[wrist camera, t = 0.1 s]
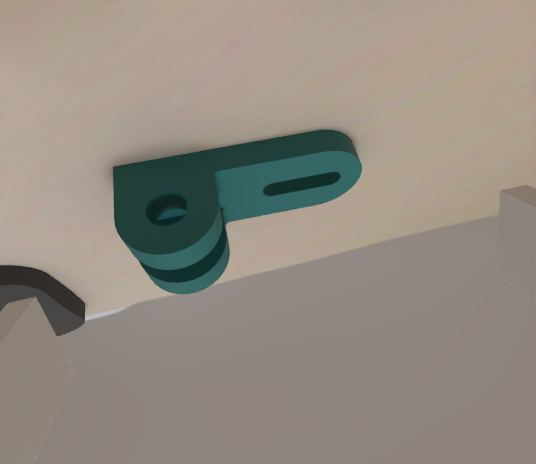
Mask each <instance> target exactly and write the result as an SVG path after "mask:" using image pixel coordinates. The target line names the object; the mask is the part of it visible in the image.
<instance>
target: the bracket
mask: <svg viewBox="0 0 536 464" xmlns="http://www.w3.org/2000/svg"><path fill="white" fill-rule="evenodd" d="M361 172H362V165H361V162H360V160H359V157H358V155H357V153H356V150H355V148H354V146H353V143H352V141H351V140H350V138H349V137H348V136H346V135H345V134H343V133H341V132H338V131H334V130H318V131H312V132H307V133H301V134H295V135H290V136H284V137H278V138H273V139H267V140H262V141H256V142H250V143H245V144H239V145H234V146H228V147H222V148H217V149H211V150H205V151H200V152H194V153H189V154H183V155H177V156H172V157H166V158H160V159H155V160H149V161H144V162H138V163H132V164H127V165H121V166H115V167H113V181H114V221H115V227H116V230H117V232H118V234H119V236H120V237H121V239H122V240H123V241H124V243H125V244H126V245H127V247H128V248H129V249H130V251H131V252H132V253H133V255H134V256H135V257H136V258H137V259H138V260H139V262H140V264H141V266H142V267H143V268H144V270H145V271H146V273H147V274H148V275H149V277H150V278H151V279H152V281H153V282H154V283H155V284H156V285H157V286H159V287H160V288H162V289H163V290H165V291H168V292H171V293H175V294H190V293H195V292H198V291H201V290H203V289H205V288H207V287H209V286H210V285H212V284H213V283H214V282H215V281H217V280H218V279H219V277H220V276H221V275H222V274H223V272H224V271H225V269H226V267H227V264H228V261H229V255H230V249H229V242H228V237H227V232H226V224H227V223H228V222H231V221H236V220H241V219H246V218H252V217H257V216H262V215H267V214H272V213H277V212H282V211H288V210H293V209H298V208H303V207H308V206H313V205H318V204H322V203H325V202H328V201H331V200H333V199H335V198H337V197H339V196H341V195H342V194H344V193H345V192H347V191H348V190H349V189H350V188H352V187H353V186H354V184H355V183H356V182H357V181H358V179H359V177H360V175H361Z"/></svg>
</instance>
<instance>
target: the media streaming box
mask: <svg viewBox="0 0 536 464" xmlns="http://www.w3.org/2000/svg"><path fill="white" fill-rule="evenodd" d="M33 297H36V298H37V300H38V302H39V304H40V306H41V308H42V310H43V311H44V313H45V315H46V317H47V319H48V321H49V323H50V324H51V326H52V328H53V330H54V332H55V334H56V336H60V335H63V334H66V333H69V332H71V331H73V330H75V329H77V328H79V327H80V326H81V325H83V324H84V322H85V303H84V302H83V301H82V300H81V299H79V298H78V297H77V296H76V295H75V294H74V293H72V292H71V291H70V290H69V289H67V288H66V287H65V286H64V285H62V284H61V283H60V282H58V281H57V280H55V279H54V278H52V277H51V276H50V275H48V274H47V273H45V272H42V271H39V270H36V269H32V268H27V267H19V266H0V312H1V310H2V309H3V308H4V307H5V306H6V305H7V303H11V302H15V301H19V300H24V299H28V298H33Z"/></svg>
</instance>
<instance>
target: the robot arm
mask: <svg viewBox="0 0 536 464" xmlns="http://www.w3.org/2000/svg"><path fill="white" fill-rule="evenodd" d="M495 274H496V275H497V276H499V277H500V278H501V279H503V280H504V281H505V282H506V283H508V284H509V285H510V286H512V287H513V288H514V289H515V290H517V291H518V292H519V293H521V294H522V295H523V296H524V297H526V298H527V299H528V300H529V301H531V302H532V303H533V304H535V305H536V188H533V187H531V186H528V185H523V186H519V187H514V188H510V189H506V190H501V191H500V205H499V221H498V238H497V254H496V271H495ZM75 373H76V371H75V370H74V368H73V366H72V364H71V362H70V360H69V358H68V356H67V354H66V352H65V351H64V349H63V347H62V345H61V343H60V341H59V339H58V338H57V336H56V334H55V332H54V330H53V328H52V326H51V324H50V323H49V321H48V319H47V317H46V315H45V313H44V311H43V310H42V308H41V306H40V304H39V302H38V300H37V298H36V297H33V298H28V299H24V300H19V301H15V302H11V303H7V305H6V306H5V307H4V308H3V309H2V310H1V312H0V464H34V463H35V461H36V459H37V457H38V454H39V452H40V450H41V448H42V446H43V443H44V441H45V439H46V437H47V435H48V432H49V430H50V428H51V426H52V423H53V421H54V419H55V417H56V414H57V412H58V410H59V408H60V406H61V403H62V401H63V399H64V397H65V395H66V393H67V391H68V388H69V386H70V384H71V382H72V379H73V377H74V375H75Z"/></svg>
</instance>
